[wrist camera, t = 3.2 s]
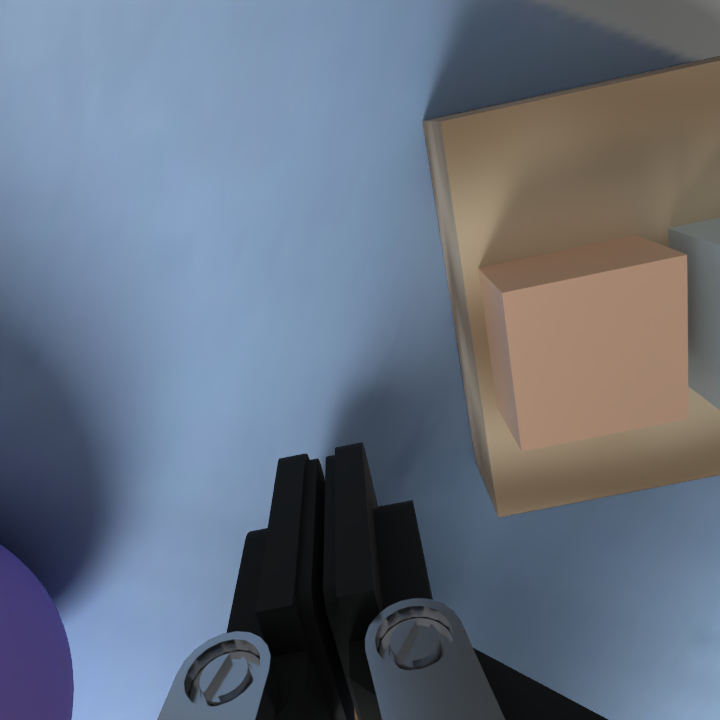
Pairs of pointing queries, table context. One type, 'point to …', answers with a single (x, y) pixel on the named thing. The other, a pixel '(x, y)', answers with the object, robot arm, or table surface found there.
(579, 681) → the table surface
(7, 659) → the decorative ball
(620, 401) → the tile terracotta
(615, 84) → the board
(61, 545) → the table surface
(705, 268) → the tile slate
